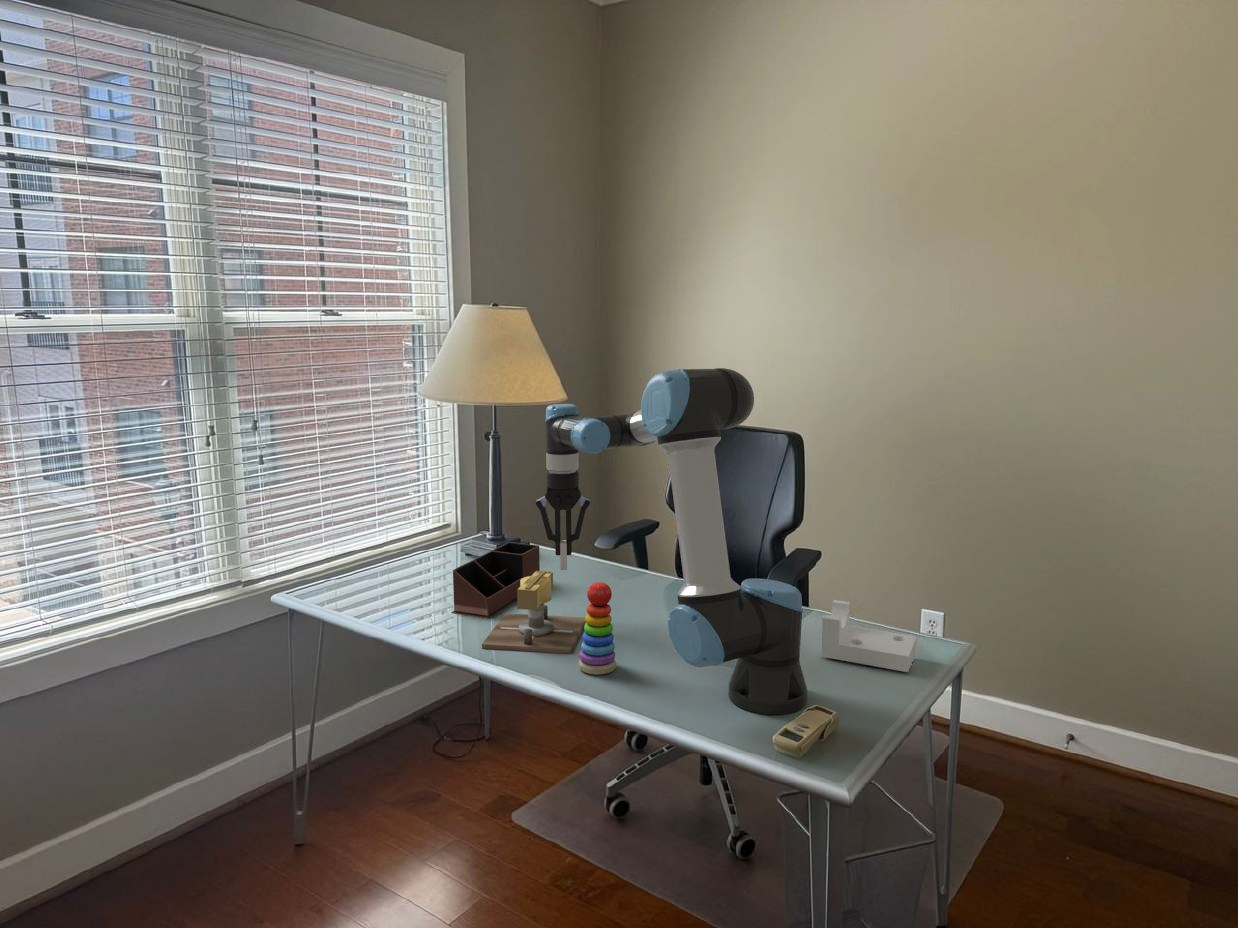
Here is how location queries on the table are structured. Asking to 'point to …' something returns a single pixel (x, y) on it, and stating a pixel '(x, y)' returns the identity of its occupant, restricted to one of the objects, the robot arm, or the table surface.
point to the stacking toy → (598, 633)
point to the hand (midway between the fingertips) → (563, 568)
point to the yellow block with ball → (535, 590)
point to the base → (535, 632)
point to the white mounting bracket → (864, 642)
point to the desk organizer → (493, 579)
